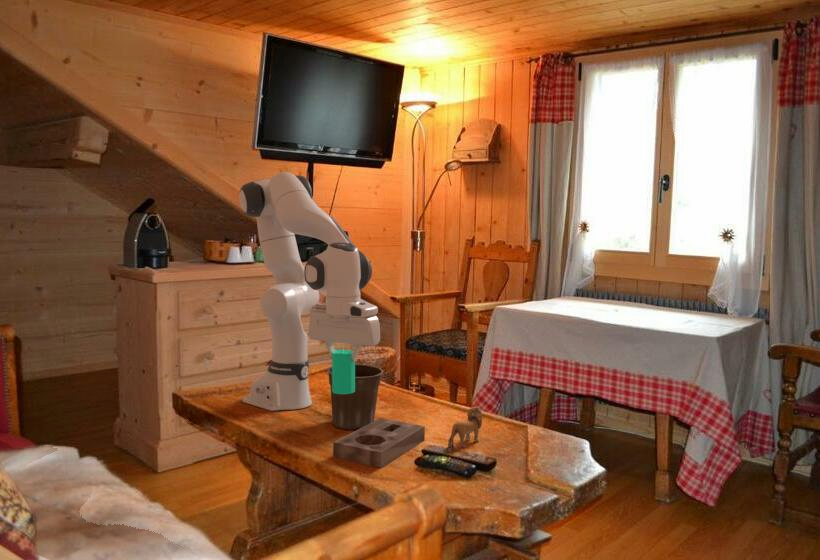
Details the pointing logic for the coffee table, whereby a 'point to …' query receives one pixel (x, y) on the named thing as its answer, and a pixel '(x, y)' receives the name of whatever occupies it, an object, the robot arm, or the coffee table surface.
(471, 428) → the lion figurine
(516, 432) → the coffee table surface
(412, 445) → the socket block
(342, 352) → the candle
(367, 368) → the plant pot
